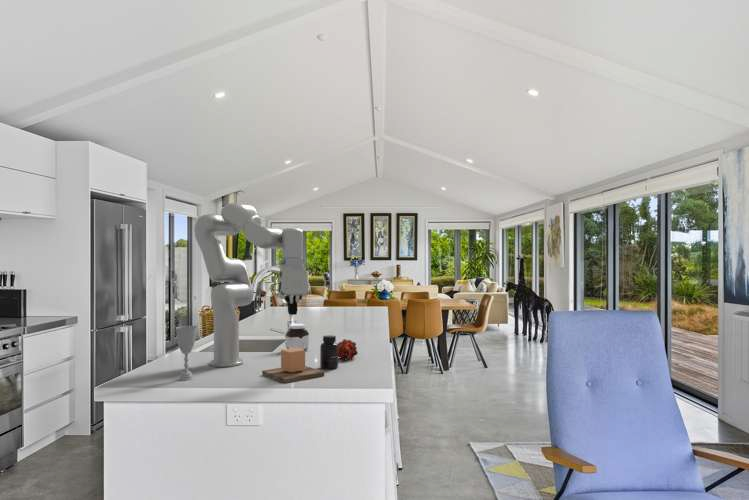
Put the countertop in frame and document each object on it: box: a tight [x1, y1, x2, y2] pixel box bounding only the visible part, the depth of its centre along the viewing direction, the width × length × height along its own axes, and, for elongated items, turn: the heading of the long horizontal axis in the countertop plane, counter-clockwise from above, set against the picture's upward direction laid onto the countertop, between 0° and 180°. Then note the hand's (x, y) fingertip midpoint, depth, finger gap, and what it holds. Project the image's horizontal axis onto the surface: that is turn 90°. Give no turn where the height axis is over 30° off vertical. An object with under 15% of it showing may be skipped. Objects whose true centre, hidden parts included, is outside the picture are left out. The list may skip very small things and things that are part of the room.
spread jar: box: [285, 323, 310, 351], centre depth 235 cm, size 12×11×12 cm
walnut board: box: [261, 365, 325, 384], centre depth 189 cm, size 16×16×2 cm
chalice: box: [174, 325, 198, 381], centre depth 185 cm, size 7×7×18 cm
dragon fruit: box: [337, 338, 359, 361], centre depth 218 cm, size 8×8×12 cm
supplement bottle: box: [319, 335, 339, 370], centre depth 202 cm, size 7×7×12 cm
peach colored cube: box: [280, 348, 306, 372], centre depth 189 cm, size 6×6×7 cm
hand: (292, 314), depth 190 cm, fingers closed
